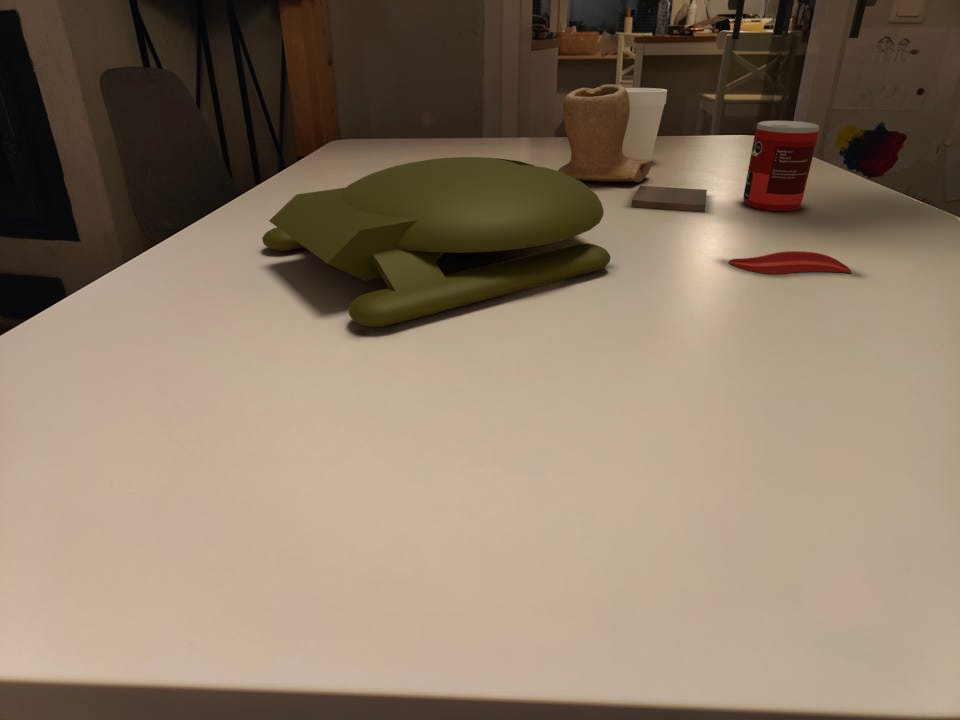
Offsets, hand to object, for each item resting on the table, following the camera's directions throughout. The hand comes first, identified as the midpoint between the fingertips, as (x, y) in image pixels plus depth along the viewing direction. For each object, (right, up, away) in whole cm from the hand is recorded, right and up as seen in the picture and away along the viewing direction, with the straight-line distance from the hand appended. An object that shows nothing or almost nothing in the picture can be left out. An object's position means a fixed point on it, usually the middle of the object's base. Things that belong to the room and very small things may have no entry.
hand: (792, 39), depth 78 cm
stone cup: (-19, -11, +26) cm, 34 cm away
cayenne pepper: (-7, -31, -13) cm, 35 cm away
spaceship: (-43, -29, -7) cm, 52 cm away
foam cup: (-10, -3, +41) cm, 42 cm away
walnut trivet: (-11, -17, +13) cm, 25 cm away
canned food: (+3, -18, +11) cm, 22 cm away
